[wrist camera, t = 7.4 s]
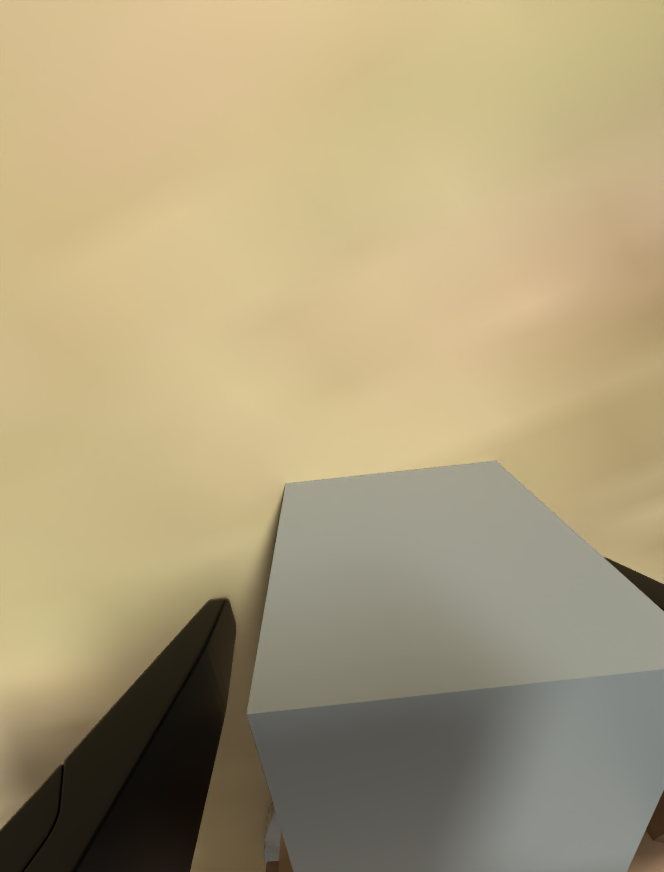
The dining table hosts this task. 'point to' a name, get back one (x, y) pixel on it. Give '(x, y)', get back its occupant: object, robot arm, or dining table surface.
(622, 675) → the block
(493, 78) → the dining table surface
